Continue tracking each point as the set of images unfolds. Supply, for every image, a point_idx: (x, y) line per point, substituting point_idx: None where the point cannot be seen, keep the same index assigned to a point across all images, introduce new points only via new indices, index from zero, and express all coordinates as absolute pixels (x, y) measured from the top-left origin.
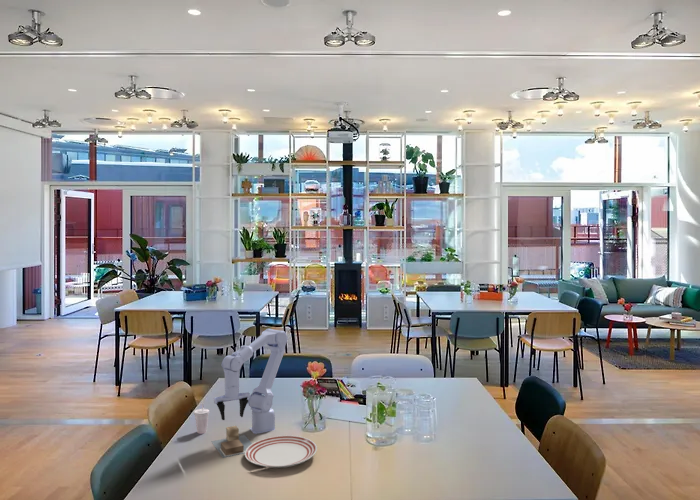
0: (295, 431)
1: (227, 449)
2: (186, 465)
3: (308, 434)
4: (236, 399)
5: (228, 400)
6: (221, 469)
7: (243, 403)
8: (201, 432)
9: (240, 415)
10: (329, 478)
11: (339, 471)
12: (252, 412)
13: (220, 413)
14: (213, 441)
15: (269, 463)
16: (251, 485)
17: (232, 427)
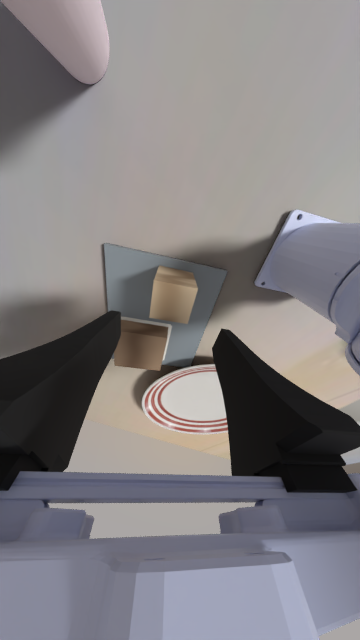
0: (334, 330)
1: (119, 364)
2: (24, 337)
3: (326, 357)
4: (214, 485)
5: (110, 488)
6: (99, 380)
7: (235, 455)
8: (63, 66)
9: (218, 339)
10: (207, 437)
11: (227, 434)
12: (337, 278)
13: (87, 324)
14: (111, 251)
15: (173, 406)
16: (127, 420)
17: (175, 297)
